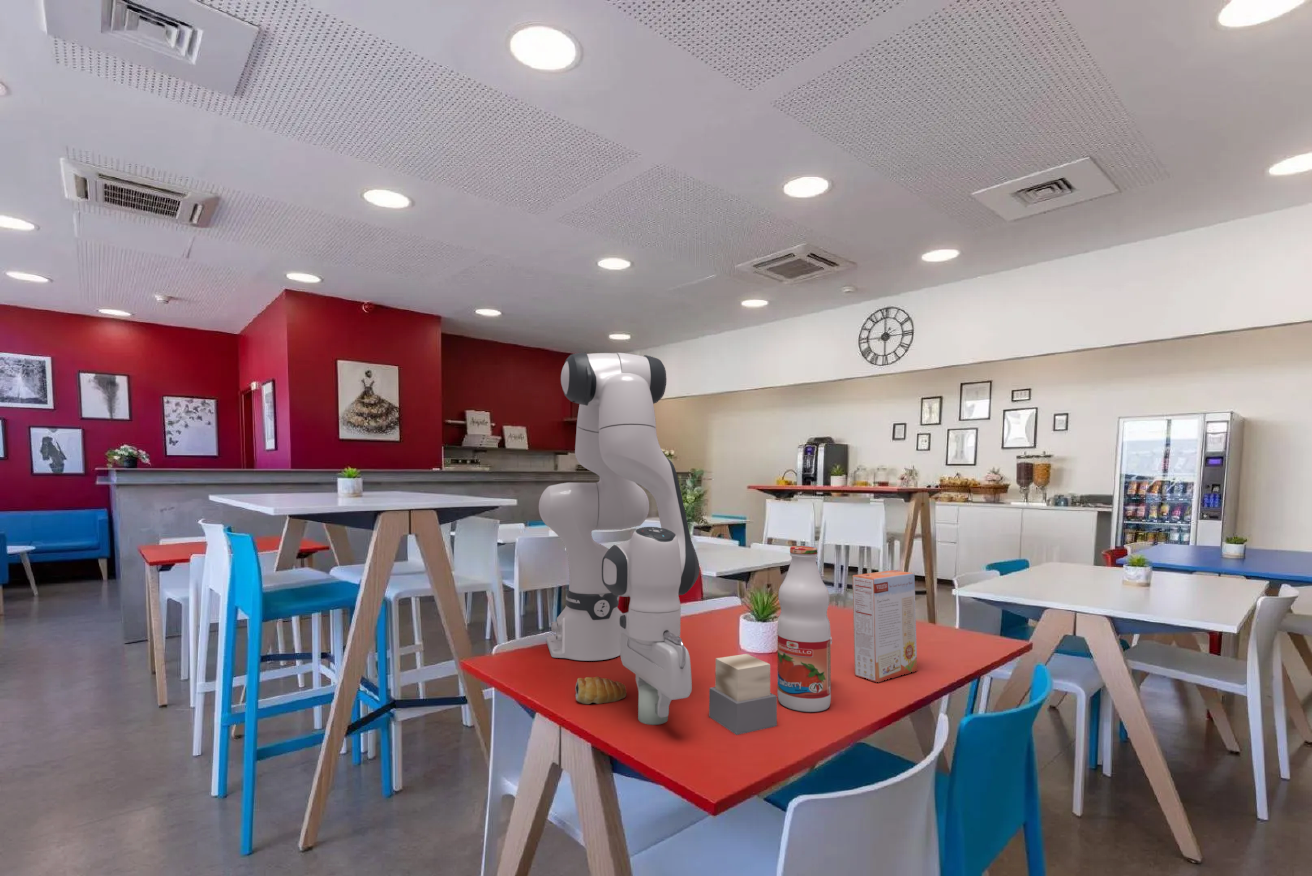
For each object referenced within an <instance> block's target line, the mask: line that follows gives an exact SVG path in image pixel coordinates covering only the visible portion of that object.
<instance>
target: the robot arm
mask: <svg viewBox="0 0 1312 876" xmlns="http://www.w3.org/2000/svg"><path fill="white" fill-rule="evenodd" d="M560 384H561V387H562V391H563V394H564V396H565V397H566V399H567V400H569V401H570V402H572V403H574V404H579V405H578V406H579V407H578V413H577V417H576V418H577V421H576V434H575V445H574V449H575V450H574V454H575V455H574V456H575V459H576V461H577V463H578V464H579V465H581V466H582V467H583V468H584V469H587V470H588V471H590V472H592V473H594V474H596V475H597V476H599V481H597V482H564V483H563V482H562V483H558V484H551V485H548V486H547V487H546V488H545V489H544V490H543V492H542V493H541V496H540V498H539V502H538V513H539V516H540V518H541V520H542V522H543V523H544V525H546V526H547V527H548V528H549V529H551V530H552V531H553V532H554V534H556V535H557V536H558V538H559V539H560V541H561V543H562V544H563V545H564V548H565V551H566V555H567V560H568V572H569V573H568V579H569V581H568V583H569V584H568V590H567V592H566V595H565V608H564V609H563V610H561V613H560V614H559V615H558V616H557V617H556V621H551V626H550V629H551V632H552V633H555V634H552V635H549V636H546V644H547V647H548V650H549V654H550V656H551V657H552V658H555V659H556V658H557V659H558V658H559V659H569V660H574V661H586V662H587V661H589V662H590V661H591V662H592V661H593V662H594V661H595V662H596V661H603V660H609V659H614V658H616V657H619V656H620V660H621V664H622V666H623V667H624V668H626V669H627V670H629V671H630V672H632V673H633V674H634V675H635V683H636V687H637V691H638V692H639V686H641V685H643V684H647V683H648V684H650V685H651V686H653V687H654V688H655V689H657V690H658V696H659V700H658V703H657V704H655V709H656V710H655V713H656V714H657V715H658V716H659V717H661V718H662V717H667V716H668V717H669V713H670V709H669V708H670V704H671V702H672V700H673V701H674V700H680V699H681V700H682V699H687V698H689V697H690V695H691V693H692V690H693V689H692V688H693V686H692V685H693V683H692V682H693V681H692V668H691V667H692V665H691V656H690V653H689V650H688V649H687V647H686V646H685V645H684V643H683V638H681V611H682V610H681V605H682V604H681V601H680V597H679V596H683V595H686V594H688V593H689V591H690V590H691V589H692V587H693V586H694V585H695V584H696V581H697V580H698V577H699V575H700V563H699V562H700V561H699V558H698V554H697V552H696V550H695V547H694V544H693V541H692V537H691V533H690V530H689V529H690V527H689V524H688V519H687V515H686V510H685V504H684V500H683V496H682V490H681V485H680V481H679V478H678V474H677V471H676V470H677V469H676V467H675V465H674V463H673V461H671V459H669V458H668V457H667V456H666V455H665V453H664V452H663V450H662V447H661V445H660V442H659V440H658V433H657V423H656V412H655V407H654V404H657V403H658V402H659V401H660V400H661V399H662V398H663V397H664V395H665V393H666V387H667V371H666V367H665V365H664V364H663V362H662V361H661V360H660V359H659V358H657V357H655V356H651V355H647V354H645V355H640V354H633V353H628V352H627V353H626V352H625V353H624V352H597V353H596V352H594V353H592V352H591V353H587V352H578V353H576V352H575V353H573V354H570V355H569V356H568V357H567V358H566V359H565V361H564V365H563V366H562V369H561V373H560ZM643 488H644V489H646V491H648V492H649V493H650V494H651V495H652V497H653V498H654V501H655V503H656V508H657V509H656V510H657V512H658V513H657V514H658V518H659V522H660V523H659V524H660V527H658V526H643V527H640V526H641V525H643V523H644V522H645V521H646V520H647V518H648V515H649V512H650V500H649V497H648V495H647V493H646V492H645V490H644V489H643ZM636 527H639V528H637V529H634V531H633V533H632V536H631V537H630V538H629V539H627V540H626V541H623V542H621V543H617V544H613V545H612V546H610V548H609V547H607V546H605V545H603V544H601V543H598V542H597V541H595V540H594V539H593V535H592V533H593V531H596V530H597V531H599V530H600V531H603V530H604V531H608V530H609V531H610V530H613V531H615V530H619V531H620V530H621V531H622V530H627V529H632V528H636ZM620 597H626V598H627V597H629V604H628V611H626V612H622V611H621V610H620V609H619V608H618V606H619V600H620Z"/></svg>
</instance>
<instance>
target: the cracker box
mask: <svg viewBox="0 0 1312 876" xmlns="http://www.w3.org/2000/svg"><path fill="white" fill-rule="evenodd" d="M915 580H916V579H915V573H914V572H910V571H909V572H908V571H903V570H898V569H897V570H896V569H895V570H894V569H891V570H886V571H885V570H884V571H876V572H869V573H861V574H853V575H852V610H853V612H852V613H853V616H852V617H853V619H852V620H853V621H852V622H853V651H854V652H853V653H854V655H853V656H854V659H853V661H854V663H853V664H854V676H856V677H857V678H858V677H859V678H860V679H864V678H866V679H865V680H867V679H868V680H867V681H871V682H874V683H877V682H878V683H882V682H884V680H885V681H888V680H891V679H890V678H892V679H895V678H898V677H901V675H902V676H905V675H907V674H912V673H915V671H916V672H917V671H918V660H917V659H918V657H917V656H918V655H917V654H918V653H917V652H918V651H917V647H918V646H917V617H916V616H917V615H916V586H915V582H916V581H915ZM911 672H912V673H911ZM904 674H905V675H904ZM887 679H888V680H887Z"/></svg>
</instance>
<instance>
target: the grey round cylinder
mask: <svg viewBox="0 0 1312 876" xmlns="http://www.w3.org/2000/svg"><path fill="white" fill-rule="evenodd" d="M658 700H659V696H658V690H657V689H655V688H654V687H653V686H651V685H650V684H648V683H647V684H643V685H641V686H639V691H638V701H637V702H638V703H637V704H638V705H637V708H638V710H637V712H638V713H637V714H638V715H637V716H638V717H637V719H638V721H639V722H640V723H641V724H645V725H650V726H656V725H657V726H658V725H662V724H665V723H667V722H668V720H669V715H668V716H667V717H662V718H661V717H659V716H658V715H657V714H656V713H655V710H656V709H655V704H657V703H658Z"/></svg>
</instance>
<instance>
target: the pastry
mask: <svg viewBox="0 0 1312 876" xmlns="http://www.w3.org/2000/svg"><path fill="white" fill-rule="evenodd" d="M574 690H575V696H574V697H575V700H576V701H577V702H578V703H580V704H583V705H591V704H592V703H594V704H596V705H598V704H603V703H604V704H605V703H606V704H607V703H613V702H618V701H620V700H622V699H625V698H626V696H627V688H626V685H625V684H624V683H622V682H620V681H617V680H616V681H614V680H612V679H611V678H610V679H609V678H607V677H606V678H604V677H600V676H595V677H590V676H586V677H584V678H583V677H578V678H577V680H576V682H575V689H574Z"/></svg>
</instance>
